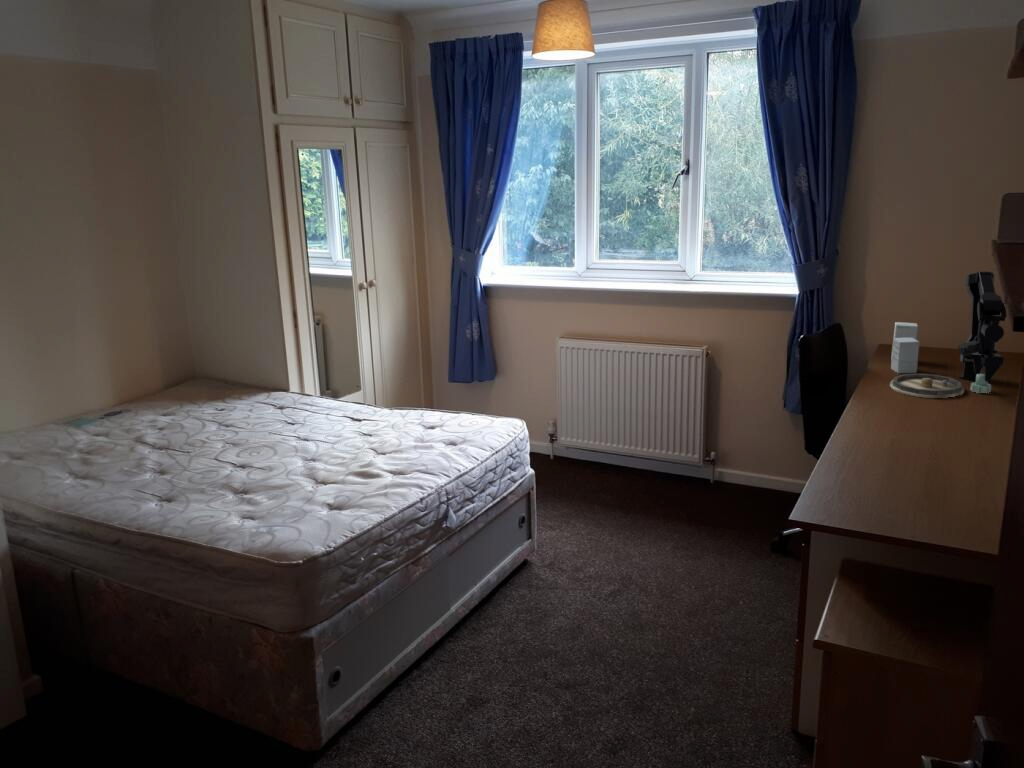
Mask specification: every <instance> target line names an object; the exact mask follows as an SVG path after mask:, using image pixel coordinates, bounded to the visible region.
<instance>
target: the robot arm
mask: <svg viewBox="0 0 1024 768" xmlns="http://www.w3.org/2000/svg"><path fill="white" fill-rule="evenodd" d="M965 287H966V292H967V294H968V295H969V297H970V298H971V302H970V303H971V305H970V325H969V326H970V327H969V337H968V339H966V341H965V342H964V343H960V344H957V348H958V352H959V354H960V357H959V360H960V363H962V364H963V365H964V367H963V374H961V375H958V378H960V379H964V380H969V381H972V382H973V381H975V382H976V374H982V370H983V371H984V374H985V381H986V382H987V383H988V382H990V380H991V379H992V377H993V376H994V375H995V374H996V372H997V371H998V370H999V369H1000V367H1002V366H1003V365H1005V360H1006V358H1004V356H1002V355H1001V354H999V353H998V349H996V345H997V342H999V340H1001V339H1002V338H1003V337H1004V335H1005V330H1004V328H1003V327H1002V326H1001V325H1000V322H1005V321H1006V318H1007V315H1008V314H1007V308H1005V306H1006V305H1005V306H1004V303H1005V302H1004V301H1003V299H1002V297H1001V296H1000V295H998V294H997V292H996V290H995V274H994V273H993V272H992V271H977V272H976V273H970V274H968V275H967V276H966V277H965ZM1003 302H1004V303H1003ZM982 368H984V369H982Z"/></svg>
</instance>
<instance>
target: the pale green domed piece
mask: <svg viewBox="0 0 1024 768" xmlns="http://www.w3.org/2000/svg"><path fill="white" fill-rule="evenodd" d="M969 388H970V389H969V391H970V390H971V391H972V393H973V392H976V393H975V394H978V393H979V394H980V393H986V394H987V393H988V394H990V393H991V392H992V384H990V383H988V382H986V381H985V373H981V374H976V381H975V382H973V381H972V382H970V387H969ZM971 391H970V392H971ZM989 392H990V393H989Z"/></svg>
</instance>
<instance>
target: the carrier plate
mask: <svg viewBox="0 0 1024 768" xmlns="http://www.w3.org/2000/svg"><path fill="white" fill-rule="evenodd" d="M890 387H891V388H890ZM889 388H890V389H891V390H892V389H893V390H892V391H894V392H896V393H898V392H899V394H901V393H902V395H904V394H905V395H906V396H909V395H910V397H914V396H915V398H921V397H922V398H923V399H935V398H942V399H949V398H948V397H953V398H956V397H955V396H958V397H960V396H962V395H963V394H964V393H965V387H964V386H963V385H962V382H961V381H959V380H957V379H956V378H953V377H950V376H945V375H938V374H933V373H932V374H931V373H929V374H928V373H902V374H900V375H897V376H894V377H893V378H892V380H891V381H890V382H889ZM959 395H960V396H959Z"/></svg>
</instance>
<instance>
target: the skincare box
mask: <svg viewBox="0 0 1024 768" xmlns="http://www.w3.org/2000/svg"><path fill="white" fill-rule="evenodd" d="M918 325H919V324H918V323H917V322H902V321H896V322H894V329H893V338H910V337H912V338H914V339H916V340H917V338H918V337H917V336H918V329H919V326H918ZM892 349H893V346H891V350H892ZM890 360H891V361H892V354H891V357H890Z"/></svg>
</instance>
